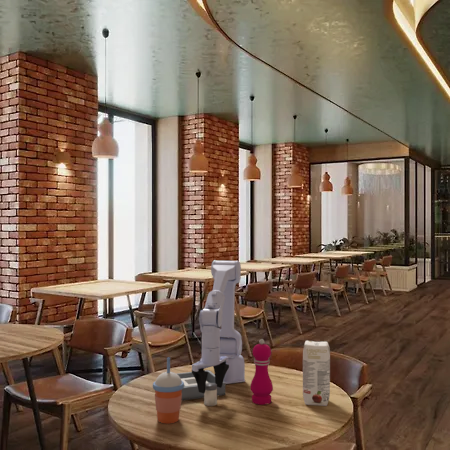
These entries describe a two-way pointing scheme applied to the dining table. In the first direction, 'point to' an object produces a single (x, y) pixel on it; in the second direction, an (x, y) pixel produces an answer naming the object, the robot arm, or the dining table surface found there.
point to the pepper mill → (261, 375)
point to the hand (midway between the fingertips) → (210, 389)
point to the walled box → (193, 391)
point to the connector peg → (210, 394)
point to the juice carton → (316, 373)
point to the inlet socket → (190, 381)
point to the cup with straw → (168, 396)
